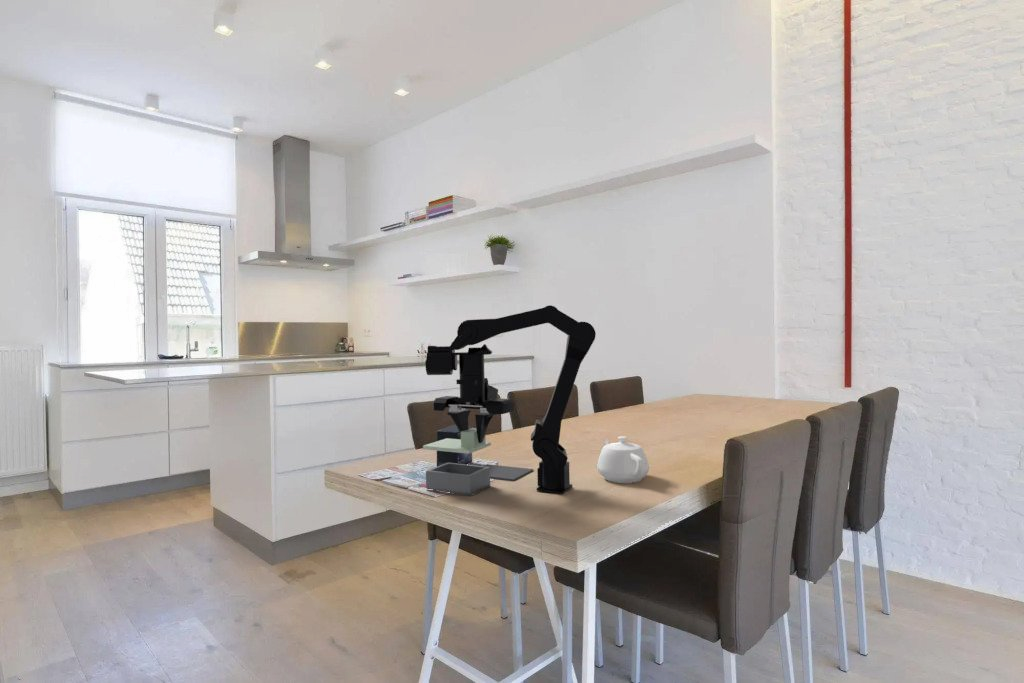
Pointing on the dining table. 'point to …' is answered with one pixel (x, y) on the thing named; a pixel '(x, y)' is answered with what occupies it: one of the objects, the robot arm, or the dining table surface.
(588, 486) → the dining table surface
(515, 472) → the mat
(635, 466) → the teapot
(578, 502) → the dining table surface
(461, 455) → the small box
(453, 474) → the tub
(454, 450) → the lid
